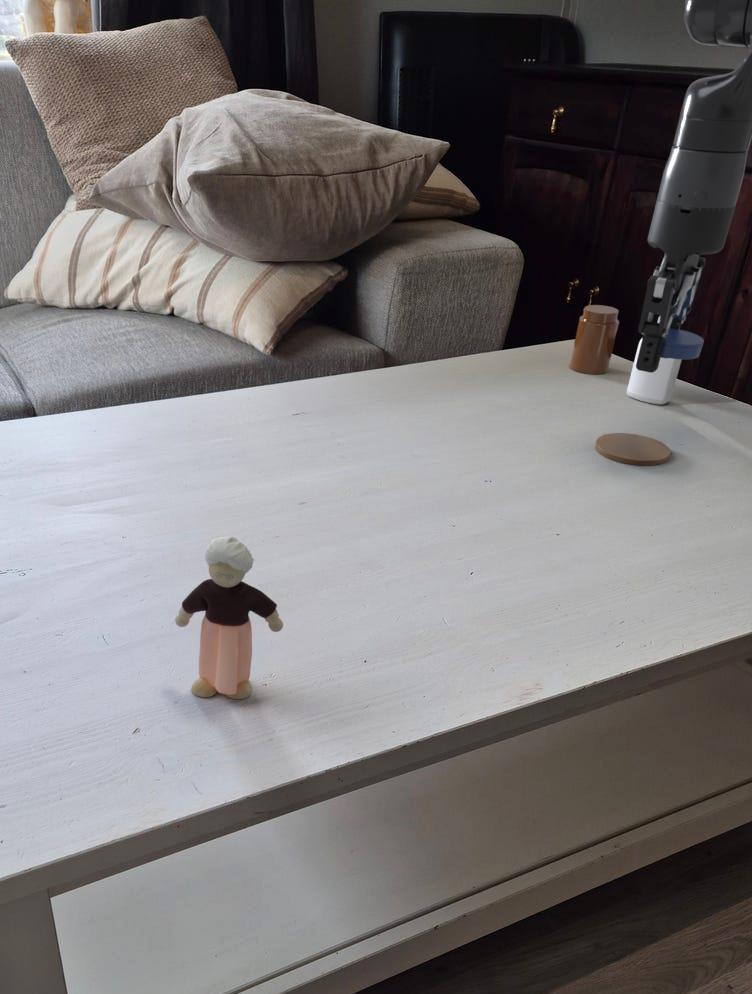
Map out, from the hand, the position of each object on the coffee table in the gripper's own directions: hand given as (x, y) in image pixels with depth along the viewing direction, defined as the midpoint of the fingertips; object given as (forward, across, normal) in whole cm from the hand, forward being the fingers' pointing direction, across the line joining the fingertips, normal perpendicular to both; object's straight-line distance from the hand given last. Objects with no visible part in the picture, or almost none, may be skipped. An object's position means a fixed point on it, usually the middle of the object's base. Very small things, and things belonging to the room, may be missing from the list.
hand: (653, 362), depth 103 cm
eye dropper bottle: (+11, -20, -3) cm, 23 cm away
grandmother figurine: (+11, +65, -11) cm, 67 cm away
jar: (+11, -28, -14) cm, 33 cm away
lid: (-3, 0, +2) cm, 3 cm away
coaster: (+11, 0, 0) cm, 11 cm away
